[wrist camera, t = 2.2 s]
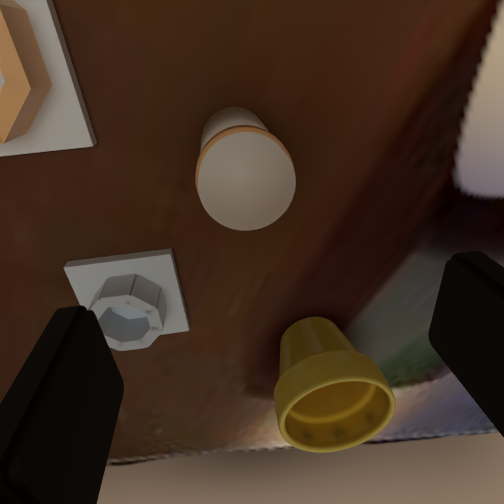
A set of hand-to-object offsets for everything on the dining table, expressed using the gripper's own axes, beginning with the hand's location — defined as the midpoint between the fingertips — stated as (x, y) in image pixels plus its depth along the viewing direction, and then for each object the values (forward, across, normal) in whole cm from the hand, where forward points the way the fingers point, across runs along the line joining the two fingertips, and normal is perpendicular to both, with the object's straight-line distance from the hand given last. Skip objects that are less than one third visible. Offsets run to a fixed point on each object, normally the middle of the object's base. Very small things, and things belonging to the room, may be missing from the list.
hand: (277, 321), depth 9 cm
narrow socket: (+20, +11, +12) cm, 26 cm away
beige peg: (+20, 0, -1) cm, 20 cm away
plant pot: (+20, -6, +21) cm, 30 cm away
